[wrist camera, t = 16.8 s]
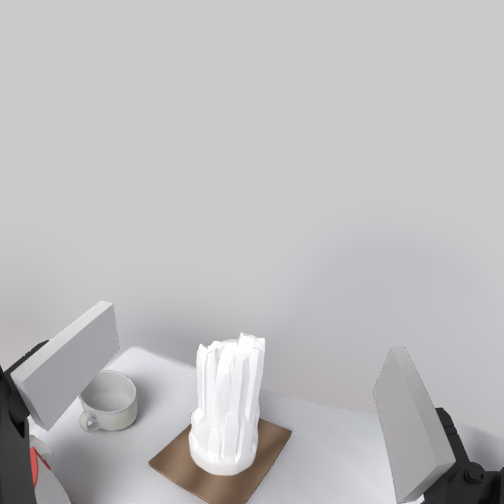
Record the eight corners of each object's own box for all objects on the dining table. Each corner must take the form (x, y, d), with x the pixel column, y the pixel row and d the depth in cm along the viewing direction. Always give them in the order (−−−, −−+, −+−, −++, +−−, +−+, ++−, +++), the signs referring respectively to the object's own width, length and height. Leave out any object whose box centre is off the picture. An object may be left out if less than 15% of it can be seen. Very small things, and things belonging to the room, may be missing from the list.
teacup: (112, 390, 49) (105, 361, 47) (153, 414, 46) (148, 385, 43) (67, 426, 36) (53, 397, 34) (107, 459, 33) (94, 432, 31)
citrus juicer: (114, 513, 23) (64, 445, 18) (53, 575, 8) (-39, 528, 2) (46, 457, 28) (-4, 372, 22) (-12, 504, 12) (-87, 424, 6)
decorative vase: (177, 449, 37) (163, 328, 30) (218, 418, 46) (225, 299, 39) (229, 487, 32) (241, 375, 24) (268, 447, 40) (296, 329, 33)
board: (290, 435, 44) (292, 431, 44) (235, 516, 27) (236, 514, 27) (216, 402, 51) (216, 398, 51) (149, 465, 34) (148, 462, 34)
